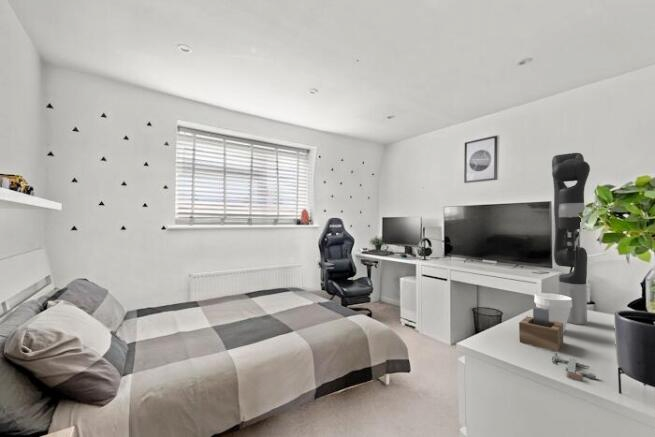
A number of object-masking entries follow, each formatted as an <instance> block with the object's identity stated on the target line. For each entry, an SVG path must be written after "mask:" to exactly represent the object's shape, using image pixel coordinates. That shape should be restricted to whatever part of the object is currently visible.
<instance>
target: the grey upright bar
mask: <svg viewBox="0 0 655 437" xmlns="http://www.w3.org/2000/svg"><path fill="white" fill-rule="evenodd" d="M532 314H533V315H532V316H533V324H535V325H540V326H545V327H550V326H549V309H545V308H539V307H537V306H533V307H532Z"/></svg>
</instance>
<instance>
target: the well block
mask: <svg viewBox="0 0 655 437" xmlns="http://www.w3.org/2000/svg"><path fill="white" fill-rule="evenodd" d="M518 324H519V325H518V330H519V332H518V333H519V335H518V336H519V337H518V338H519V343H521V344H525V345H531V346H534V347H537V348H542V349H546V350H550V351H554V352H556V353H557V352H559V350H560V349H561V347H562V346H563V344H564V333H563V323H559V322H554V321H549V326H550V327H545V326H540V325H535V324H533V317H532V316H528V315H526V316H525V317H524V318H523V319H522V320H521V321H519V322H518Z"/></svg>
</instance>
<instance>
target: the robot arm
mask: <svg viewBox="0 0 655 437" xmlns="http://www.w3.org/2000/svg"><path fill="white" fill-rule="evenodd" d="M590 170H591V166H590V164H589V163H588V162H587V161H585V159H584V156H583V154H582V153H581V152H572V153H564V154H563V153H562V154H557V155H554V156H553V157H552V159H551V174H552V176H551V177H552V180H553V189H554V190H553V195H554V196H553V209H554V210H553V212H554V214H553V216H554V248H553V258H554V259H553V260H554V262H555V264H556V265H557V266H559V267H565V268H573V270H572V271H571V272H569V273H563V274H560V275H559V276H558V279H559V285H558V287H559V295H563V296H567V297H570V298H572V307H571V309H570V313H569V316H568V320H567V323H569V324H573V325H574V324H575V325H587V324H588V297H587V295H588V294H587V276H588V253H587V251H586V248H584V247H583V246H582V247H581V245H580V244H581V233H580V231H579V230H581V229H580V222H581V218H580V217H579V215H578V213H580V212H583V211H584V209H585V210H586V206H585V186H586V183H587V181H588V177H589V175H590ZM575 181H576V183H575V185H572V186H568V185H566V183H568V182H575ZM565 182H566V183H565ZM585 229H586V228H583V229H582V230H585Z"/></svg>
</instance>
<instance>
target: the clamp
mask: <svg viewBox="0 0 655 437" xmlns="http://www.w3.org/2000/svg"><path fill="white" fill-rule="evenodd" d="M558 355H559V354H558V353H557V352H553V355H552V356H551V362H552V363H553V364H556V363H557V362H562V363H565V364H567V365H568V366H567V367H565V371H566V377H567V378H568V379H572V380H575V381H578V382H583V377H586V378H588V379H593V380H596V379H597V375H596V373H592V372H589V371H586V372H585V371H582V370H578V369H576V366H578V367H582V368H588V369H590V365H586V364H584V363H580V362H577V359H575V358H571V357H569V358H568V360H567V359H564V358H560V357H559V358H558Z"/></svg>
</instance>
